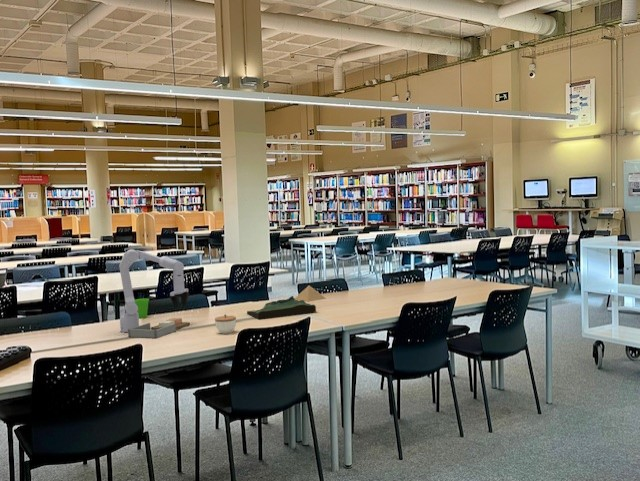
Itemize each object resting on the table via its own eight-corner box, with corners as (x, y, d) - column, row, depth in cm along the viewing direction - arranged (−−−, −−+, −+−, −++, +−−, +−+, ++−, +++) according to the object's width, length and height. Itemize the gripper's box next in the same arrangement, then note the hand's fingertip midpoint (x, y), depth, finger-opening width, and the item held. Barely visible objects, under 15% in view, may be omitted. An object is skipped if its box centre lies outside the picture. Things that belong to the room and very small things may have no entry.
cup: (131, 319, 362) (130, 301, 362) (139, 316, 371) (138, 298, 371) (145, 319, 360) (144, 301, 360) (152, 316, 369) (151, 298, 368)
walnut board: (151, 330, 325) (151, 327, 325) (168, 324, 340) (168, 321, 340) (173, 331, 320) (173, 328, 320) (189, 325, 335) (189, 322, 335)
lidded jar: (237, 329, 317) (236, 312, 316) (235, 334, 306) (234, 315, 305) (217, 330, 316) (216, 313, 316) (214, 335, 306) (213, 316, 305)
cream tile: (159, 327, 325) (158, 322, 325) (165, 325, 331) (165, 320, 331) (168, 327, 323) (168, 322, 323) (174, 325, 329) (174, 320, 328)
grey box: (128, 337, 310) (128, 329, 310) (148, 330, 326) (148, 322, 326) (156, 338, 304) (155, 330, 304) (175, 331, 320) (175, 323, 320)
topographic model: (302, 308, 377) (301, 292, 377) (316, 313, 358) (315, 296, 357) (247, 315, 362) (246, 298, 362) (258, 320, 343) (257, 303, 342)
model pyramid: (310, 296, 424) (310, 282, 423) (326, 299, 410) (326, 284, 410) (292, 300, 413) (291, 285, 413) (307, 302, 400) (307, 287, 399)
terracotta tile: (166, 324, 332) (166, 320, 332) (172, 322, 337) (172, 318, 337) (175, 324, 330) (175, 320, 329) (182, 322, 335) (181, 318, 335)
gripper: (177, 284, 326) (178, 309, 327) (192, 280, 340) (193, 304, 341) (166, 284, 329) (167, 309, 330) (181, 280, 342) (183, 304, 343)
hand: (180, 306), depth 335 cm, fingers open, 7 cm apart
